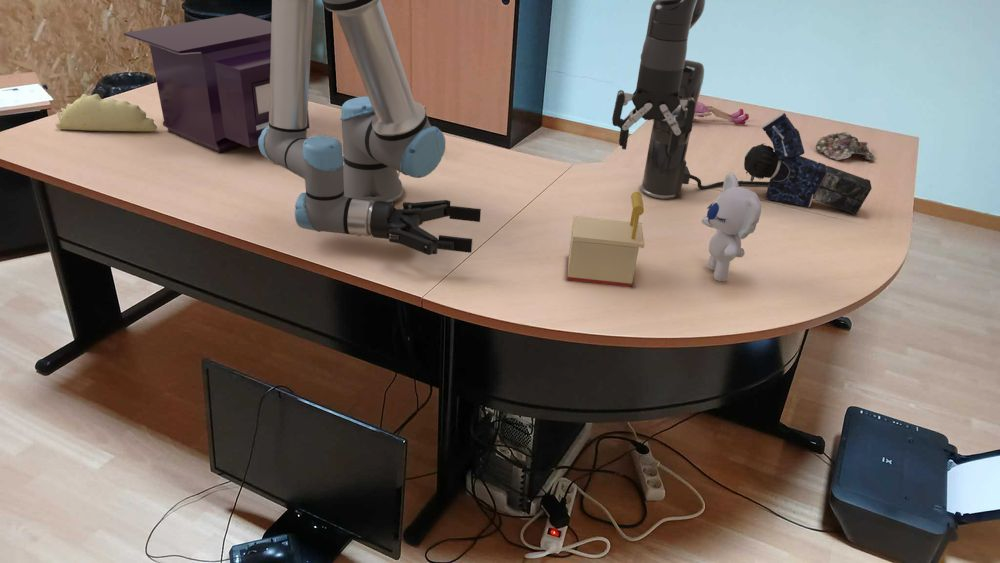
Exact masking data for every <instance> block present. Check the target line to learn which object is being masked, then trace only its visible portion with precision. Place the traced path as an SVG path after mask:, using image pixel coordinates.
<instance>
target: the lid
mask: <svg viewBox="0 0 1000 563" xmlns="http://www.w3.org/2000/svg"><path fill="white" fill-rule="evenodd" d="M630 198H631V208H632V210H631V216H630V220H629V221H626V220H616V219H607V218H597V217H596V218H595V217H587V216H578V215H577V216H576V215H574V216H573V218H572V226H573V241H579V242H589V243H599V244H608V245H618V246H628V247H637V248H639V249H644V248H645V238H644V229H643V223H642V222H639V220H640V216H642V215H643V214H644V213H645V208H644V202H643V194H642V193H641V192H640V191H637V190H636V191H633V192H632V193H631V196H630Z"/></svg>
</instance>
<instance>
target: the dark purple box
mask: <svg viewBox="0 0 1000 563" xmlns="http://www.w3.org/2000/svg"><path fill="white" fill-rule="evenodd" d="M271 24H272V21H269V20H264V19H262V18H259V17H256V16H255V17H254V16H252V15H247V14H244V13H235V14H230V15H224V16H217V17H212V18H205V19H200V20H194V21H188V22H181V23H175V24H169V25H163V26H157V27H151V28H146V29H145V28H144V29H139V30H134V31H128V32H123V36H125V37H127V38H130V39H133V40H136V41H138V42H142V43H145V44H148V45H149V50H150V54H151V60H152V66H153V71H154V75H155V76H154V77H155V82H156V87H157V92H158V97H159V102H160V107H161V113H162V118H163V122H162V126H163V127H165V128H166V129H167V131H168V132H170V133H172V134H175V135H177V136H179V137H182V138H184V139H187V140H189V141H191V142H193V143H196V144H197V145H200V146H203V147H205V148H207V149H209V150H212V151H215V152H217V153H219V154H220V153H224V152H227V151H229V150H233V149H235V148H237V144H240V145H242V146H245V147H247V148H249V149H250V148H253V147H256V146H258V140H259V137H260V135H261V133H262V131H263V130H264V129H265V128H266V127H268V126H269V99H270V62H271ZM308 129H310V118H309V112H308V113H307V130H308Z"/></svg>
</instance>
